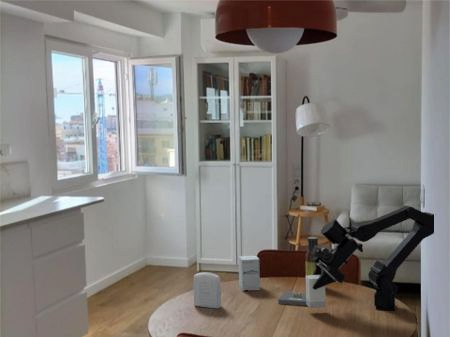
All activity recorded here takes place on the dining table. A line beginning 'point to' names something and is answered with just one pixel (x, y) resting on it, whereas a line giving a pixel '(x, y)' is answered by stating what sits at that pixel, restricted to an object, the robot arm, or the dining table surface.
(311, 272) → the sauce bottle
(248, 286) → the supplement box
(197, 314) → the dining table surface
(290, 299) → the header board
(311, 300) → the white rectangular block
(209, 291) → the white arched block
